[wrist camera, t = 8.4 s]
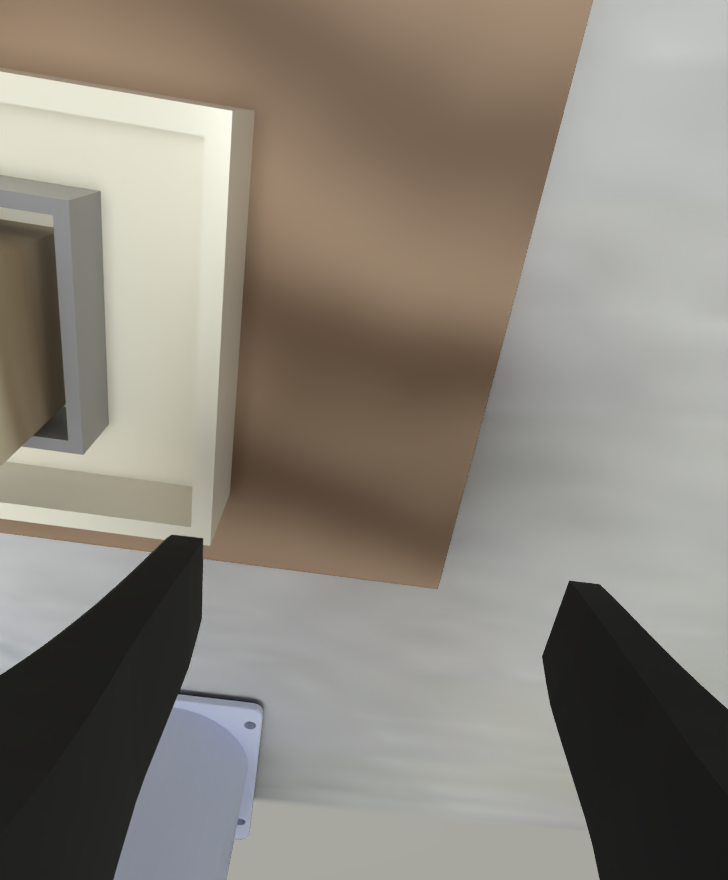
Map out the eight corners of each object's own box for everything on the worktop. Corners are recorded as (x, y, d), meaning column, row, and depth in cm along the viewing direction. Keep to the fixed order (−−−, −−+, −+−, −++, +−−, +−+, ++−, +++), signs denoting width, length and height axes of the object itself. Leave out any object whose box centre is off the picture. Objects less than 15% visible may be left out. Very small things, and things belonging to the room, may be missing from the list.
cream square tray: (254, 110, 17) (232, 111, 14) (229, 493, 22) (210, 545, 20) (-221, 30, 16) (-339, 13, 13) (-126, 445, 22) (-197, 492, 19)
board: (435, 575, 25) (437, 589, 24) (-95, 506, 24) (-110, 518, 23) (600, -62, 16) (611, -69, 15) (-250, -224, 15) (-283, -241, 14)
